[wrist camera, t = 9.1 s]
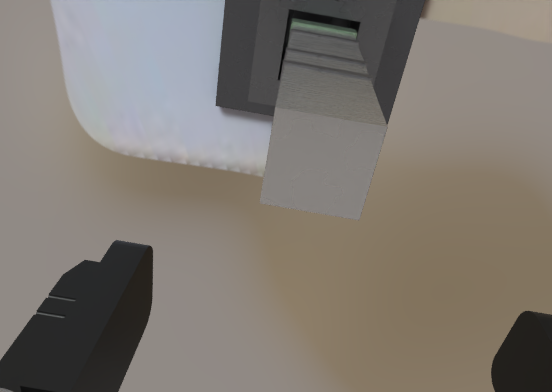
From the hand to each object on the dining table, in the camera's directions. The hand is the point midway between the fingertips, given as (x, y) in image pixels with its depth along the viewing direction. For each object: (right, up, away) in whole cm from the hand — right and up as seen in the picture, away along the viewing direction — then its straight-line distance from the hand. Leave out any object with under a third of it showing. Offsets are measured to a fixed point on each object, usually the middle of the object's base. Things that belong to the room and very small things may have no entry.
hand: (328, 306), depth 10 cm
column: (+2, +13, +22) cm, 26 cm away
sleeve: (+2, +17, +29) cm, 34 cm away
